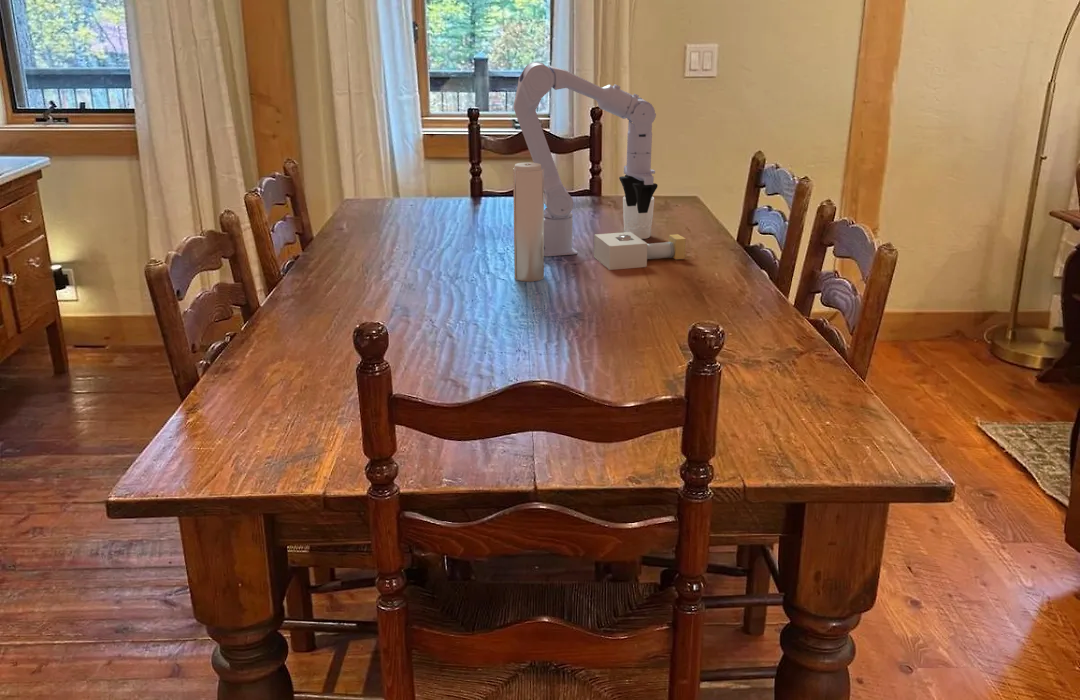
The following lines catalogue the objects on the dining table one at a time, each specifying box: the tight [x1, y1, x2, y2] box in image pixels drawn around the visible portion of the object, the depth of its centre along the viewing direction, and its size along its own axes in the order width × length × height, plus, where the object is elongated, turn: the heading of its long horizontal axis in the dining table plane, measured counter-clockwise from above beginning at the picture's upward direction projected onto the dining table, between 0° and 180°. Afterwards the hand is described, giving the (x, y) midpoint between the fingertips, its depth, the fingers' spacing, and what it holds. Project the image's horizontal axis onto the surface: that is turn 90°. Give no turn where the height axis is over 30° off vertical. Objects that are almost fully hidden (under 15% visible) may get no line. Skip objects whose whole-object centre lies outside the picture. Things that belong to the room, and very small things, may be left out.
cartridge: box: [647, 233, 687, 260], centre depth 220 cm, size 10×4×5 cm, turn 105°
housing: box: [593, 231, 649, 271], centre depth 217 cm, size 9×11×6 cm
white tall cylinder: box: [512, 161, 545, 283], centre depth 202 cm, size 6×6×25 cm
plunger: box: [619, 235, 631, 241], centre depth 217 cm, size 3×3×2 cm
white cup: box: [622, 195, 655, 240], centre depth 239 cm, size 8×8×10 cm
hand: (637, 209), depth 225 cm, fingers open, 7 cm apart
